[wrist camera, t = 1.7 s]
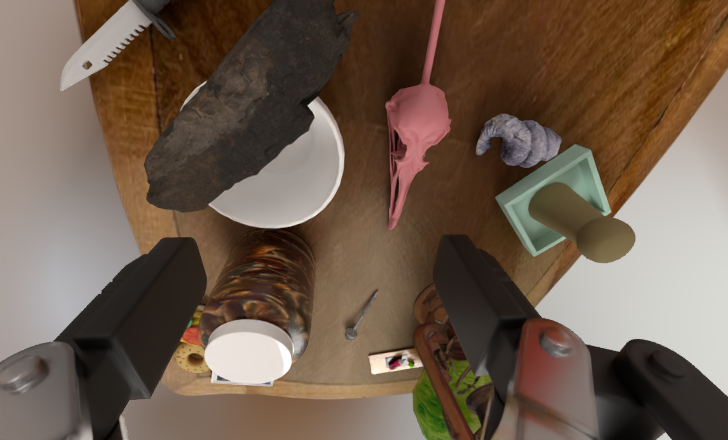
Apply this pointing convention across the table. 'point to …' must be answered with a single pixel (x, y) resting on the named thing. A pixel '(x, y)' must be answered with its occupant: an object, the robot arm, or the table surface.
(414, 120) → the pink bird skull
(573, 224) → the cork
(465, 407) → the lettuce
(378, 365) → the board
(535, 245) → the tray
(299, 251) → the jar
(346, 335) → the screw
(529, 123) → the seashell
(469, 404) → the rusty hurricane lamp
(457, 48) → the table surface
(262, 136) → the wood
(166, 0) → the knife
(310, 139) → the bowl
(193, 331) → the toy food set
